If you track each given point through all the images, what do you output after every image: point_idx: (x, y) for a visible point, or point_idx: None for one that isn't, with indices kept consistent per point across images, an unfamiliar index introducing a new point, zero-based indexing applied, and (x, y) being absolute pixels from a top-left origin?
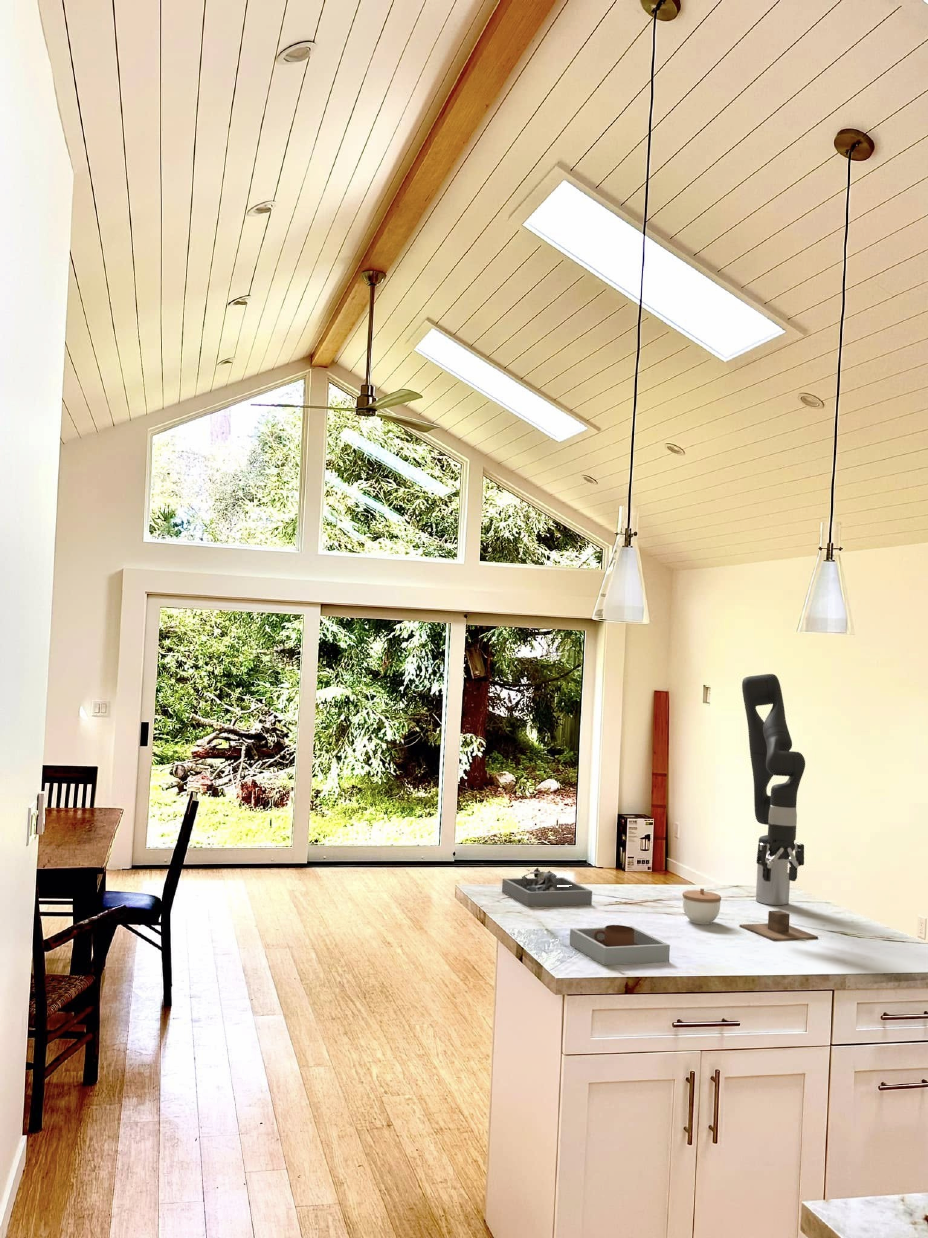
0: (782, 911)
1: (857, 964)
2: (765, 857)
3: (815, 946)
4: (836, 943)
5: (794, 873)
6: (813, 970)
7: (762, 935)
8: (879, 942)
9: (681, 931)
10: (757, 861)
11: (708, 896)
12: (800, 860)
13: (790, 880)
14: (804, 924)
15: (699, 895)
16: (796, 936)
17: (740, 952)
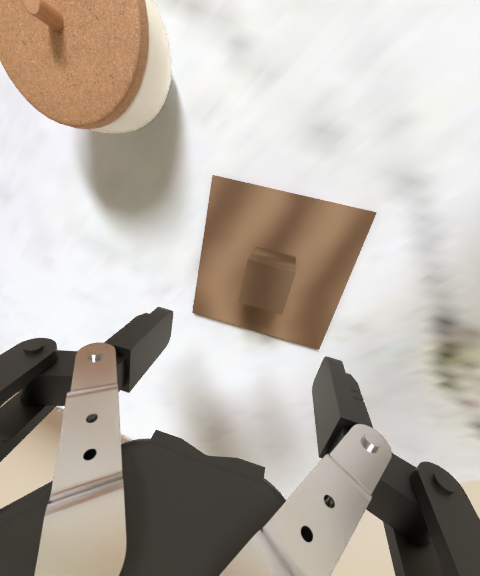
0: (289, 284)
1: (225, 451)
2: (4, 449)
3: (253, 372)
4: None
5: (318, 425)
6: (132, 429)
7: (198, 276)
8: (438, 426)
9: (31, 154)
10: (13, 357)
11: (61, 83)
12: (393, 554)
13: (320, 366)
14: (459, 235)
15: (31, 48)
16: (265, 325)
17: (77, 327)
